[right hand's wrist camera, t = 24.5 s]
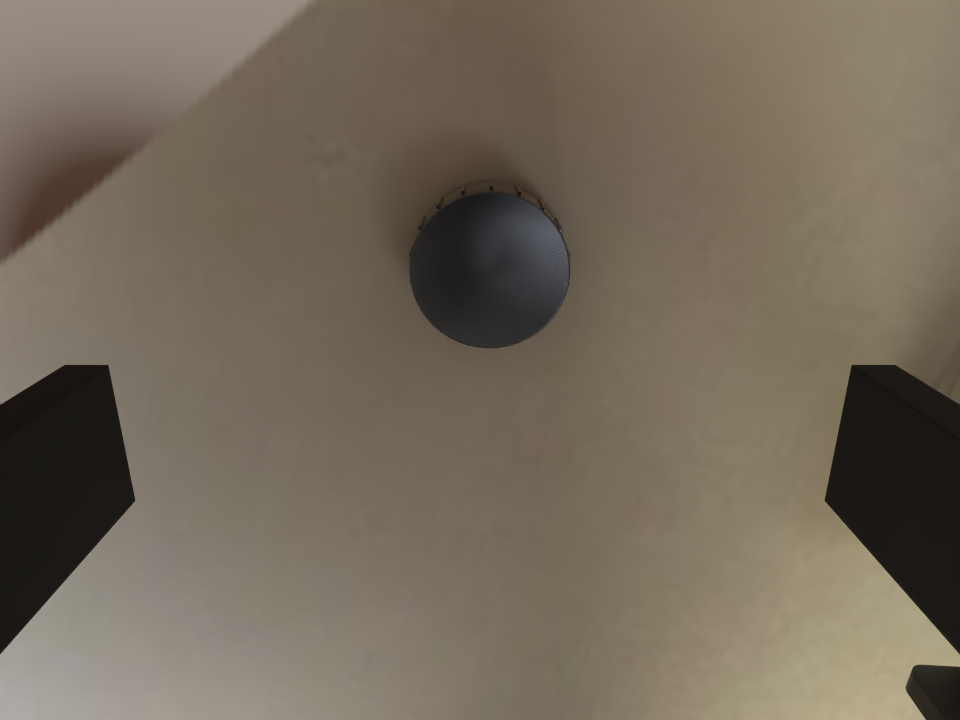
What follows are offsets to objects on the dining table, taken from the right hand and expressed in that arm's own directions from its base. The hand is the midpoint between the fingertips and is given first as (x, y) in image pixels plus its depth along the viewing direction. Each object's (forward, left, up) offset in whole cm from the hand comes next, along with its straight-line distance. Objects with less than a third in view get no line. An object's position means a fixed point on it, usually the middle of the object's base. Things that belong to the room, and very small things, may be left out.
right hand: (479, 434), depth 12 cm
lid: (+1, -1, -9) cm, 9 cm away
